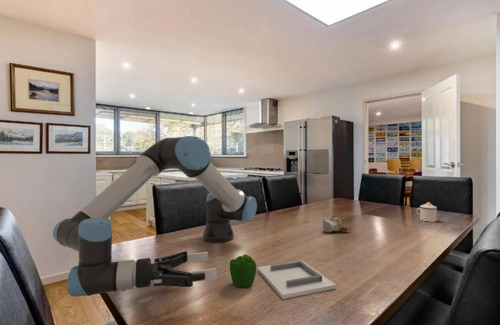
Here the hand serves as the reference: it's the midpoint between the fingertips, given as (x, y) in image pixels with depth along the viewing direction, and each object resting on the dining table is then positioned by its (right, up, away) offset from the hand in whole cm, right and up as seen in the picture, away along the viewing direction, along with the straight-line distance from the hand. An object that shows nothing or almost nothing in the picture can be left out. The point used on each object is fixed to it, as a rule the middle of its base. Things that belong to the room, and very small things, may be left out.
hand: (211, 264), depth 79 cm
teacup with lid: (+124, -6, +88) cm, 152 cm away
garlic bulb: (+58, -7, +63) cm, 86 cm away
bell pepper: (+9, -8, +4) cm, 13 cm away
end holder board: (+26, -8, +7) cm, 28 cm away
